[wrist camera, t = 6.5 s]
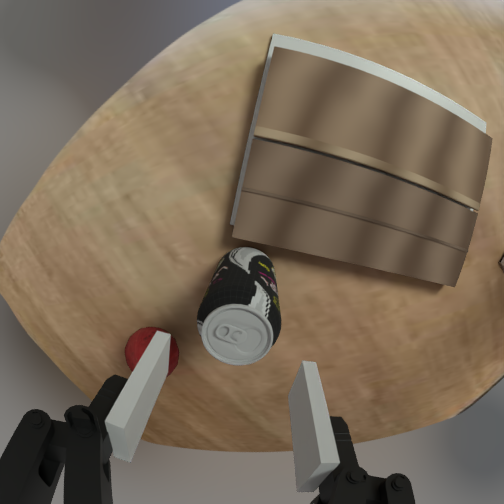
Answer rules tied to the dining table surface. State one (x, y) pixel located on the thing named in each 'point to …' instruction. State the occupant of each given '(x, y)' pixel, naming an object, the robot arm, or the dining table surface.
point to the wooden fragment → (502, 264)
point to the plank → (372, 125)
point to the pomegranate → (141, 342)
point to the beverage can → (240, 308)
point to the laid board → (350, 215)
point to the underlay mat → (361, 65)
